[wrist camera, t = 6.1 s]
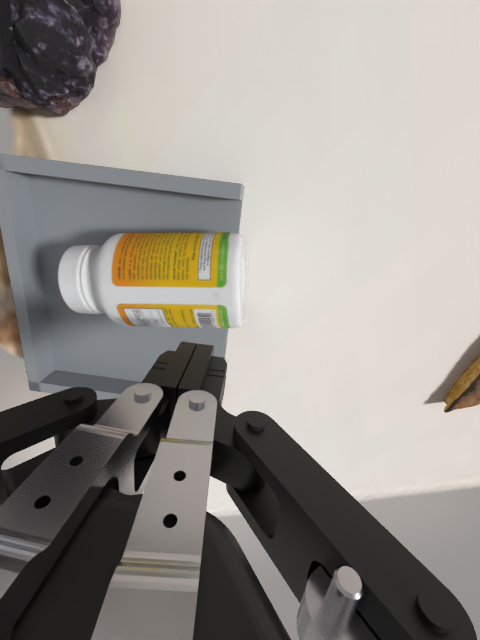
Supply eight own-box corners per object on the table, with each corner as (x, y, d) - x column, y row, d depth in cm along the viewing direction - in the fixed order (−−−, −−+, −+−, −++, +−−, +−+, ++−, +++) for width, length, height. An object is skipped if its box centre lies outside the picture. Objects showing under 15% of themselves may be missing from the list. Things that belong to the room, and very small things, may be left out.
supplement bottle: (246, 226, 18) (93, 226, 19) (240, 241, 13) (34, 240, 14) (246, 307, 20) (110, 305, 21) (241, 346, 15) (63, 341, 16)
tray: (20, 158, 18) (-14, 152, 16) (243, 186, 18) (241, 183, 16) (51, 372, 24) (29, 390, 22) (220, 396, 24) (216, 416, 21)
